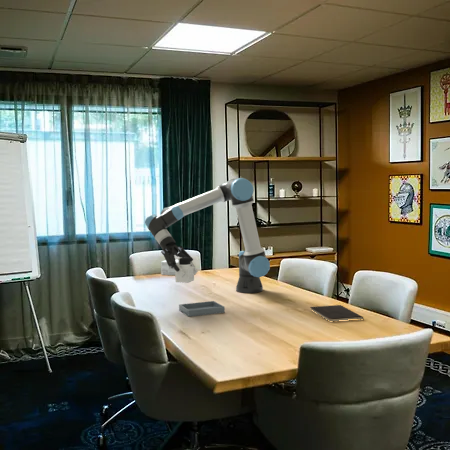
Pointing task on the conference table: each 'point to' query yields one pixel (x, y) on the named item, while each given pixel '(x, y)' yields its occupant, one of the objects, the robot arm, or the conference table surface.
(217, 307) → the tray
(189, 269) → the medicine bottle
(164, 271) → the supplement box
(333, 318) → the hardcover book
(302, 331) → the conference table surface
